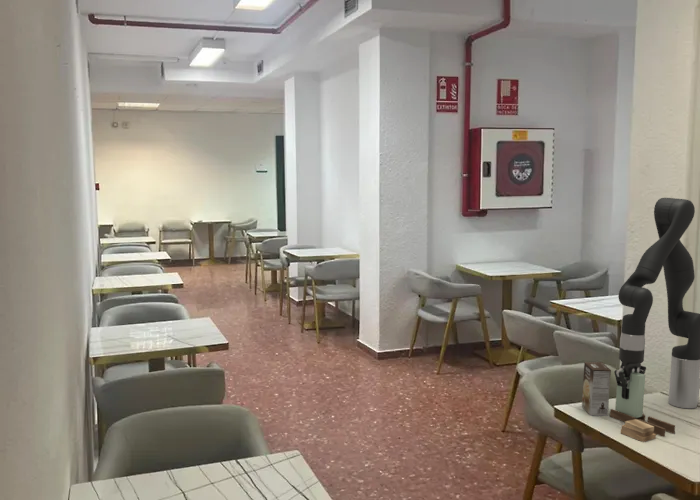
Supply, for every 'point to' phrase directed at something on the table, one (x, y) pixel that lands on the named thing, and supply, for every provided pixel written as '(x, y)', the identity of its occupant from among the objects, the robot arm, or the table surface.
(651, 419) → the rack
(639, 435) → the offcut stack
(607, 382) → the coffee box
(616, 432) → the table surface
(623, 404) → the pale green block
